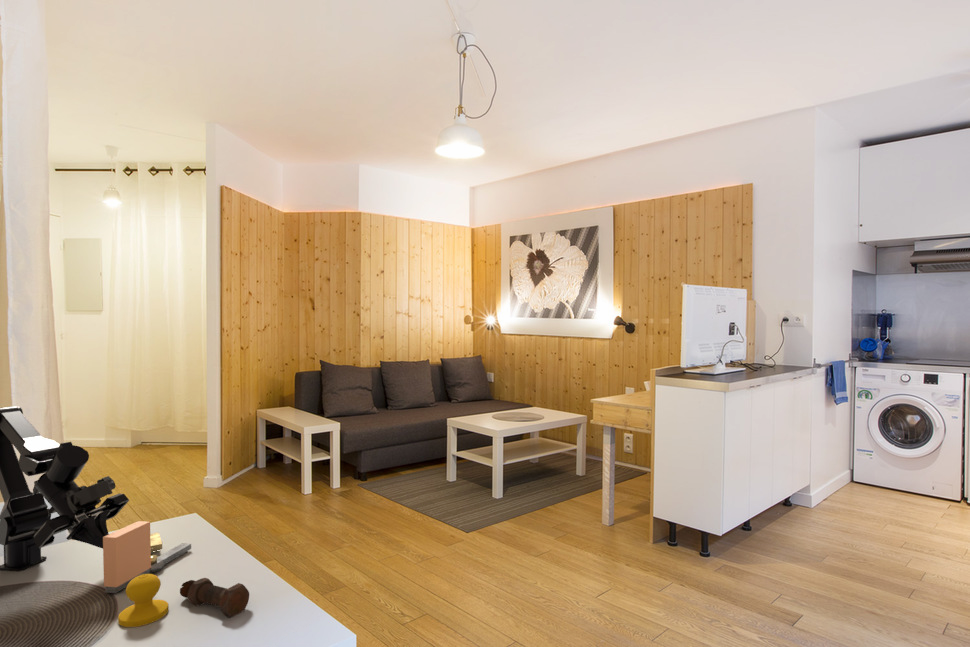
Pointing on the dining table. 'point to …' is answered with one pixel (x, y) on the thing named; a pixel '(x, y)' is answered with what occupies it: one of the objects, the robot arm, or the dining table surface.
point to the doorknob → (143, 602)
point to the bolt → (216, 595)
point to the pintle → (153, 559)
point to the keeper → (155, 542)
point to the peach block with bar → (132, 555)
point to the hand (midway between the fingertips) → (108, 547)
